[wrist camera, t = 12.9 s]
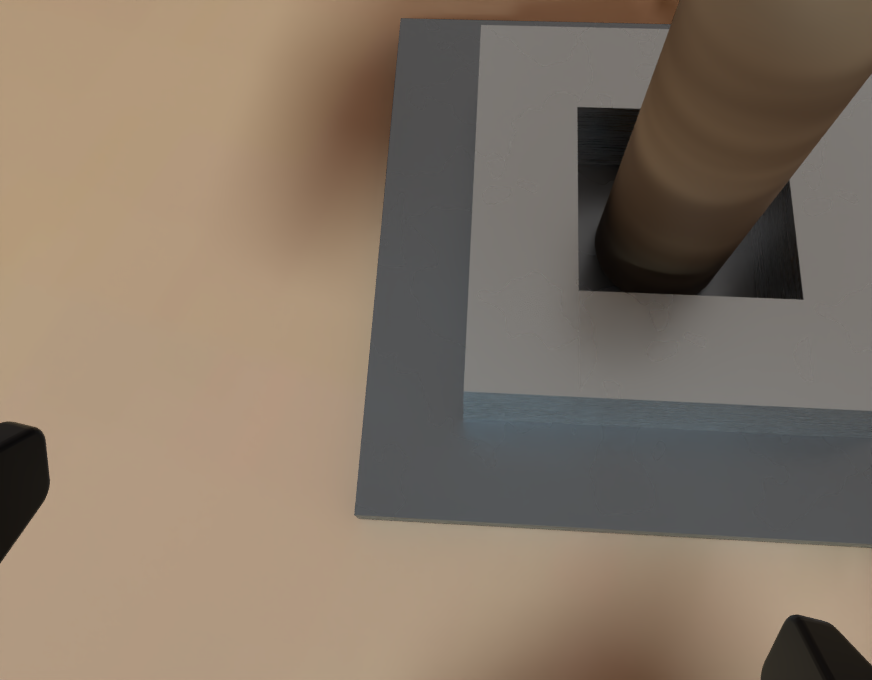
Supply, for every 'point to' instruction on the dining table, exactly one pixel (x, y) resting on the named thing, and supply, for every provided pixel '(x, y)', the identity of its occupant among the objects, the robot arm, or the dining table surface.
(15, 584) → the dining table surface
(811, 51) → the peg
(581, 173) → the socket
